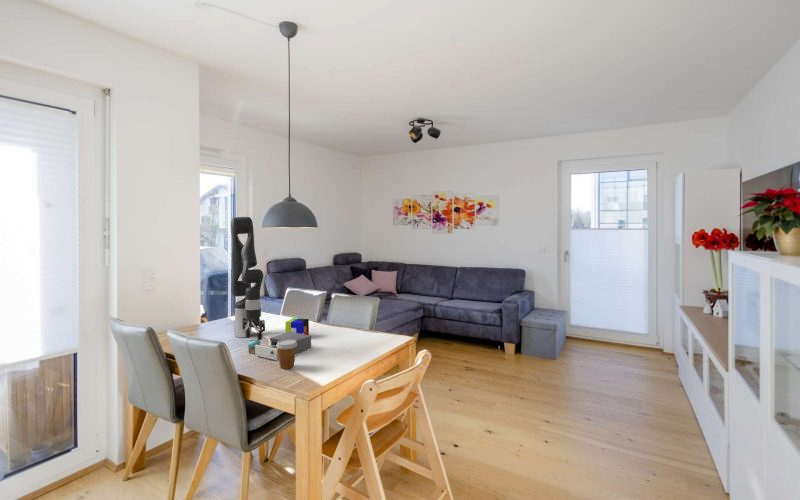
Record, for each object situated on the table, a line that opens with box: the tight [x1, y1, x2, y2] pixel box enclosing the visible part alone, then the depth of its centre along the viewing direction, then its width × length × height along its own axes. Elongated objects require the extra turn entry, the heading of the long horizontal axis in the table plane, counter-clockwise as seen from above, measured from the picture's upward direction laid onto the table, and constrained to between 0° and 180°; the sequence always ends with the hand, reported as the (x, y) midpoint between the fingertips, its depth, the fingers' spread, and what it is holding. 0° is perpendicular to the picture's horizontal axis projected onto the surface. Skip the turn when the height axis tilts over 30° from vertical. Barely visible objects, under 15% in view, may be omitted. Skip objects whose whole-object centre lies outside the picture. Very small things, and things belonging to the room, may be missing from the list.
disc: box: [247, 339, 261, 347], centre depth 207 cm, size 6×6×2 cm
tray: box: [254, 344, 279, 361], centre depth 203 cm, size 15×14×5 cm
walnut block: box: [247, 345, 255, 355], centre depth 208 cm, size 4×4×4 cm
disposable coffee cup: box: [276, 339, 297, 370], centre depth 187 cm, size 10×10×12 cm
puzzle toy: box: [285, 317, 310, 335], centre depth 237 cm, size 10×10×10 cm
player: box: [269, 332, 312, 356], centre depth 213 cm, size 16×14×7 cm
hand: (253, 338), depth 207 cm, fingers open, 8 cm apart
